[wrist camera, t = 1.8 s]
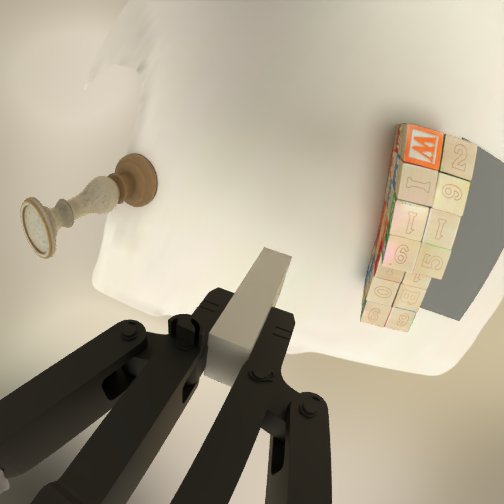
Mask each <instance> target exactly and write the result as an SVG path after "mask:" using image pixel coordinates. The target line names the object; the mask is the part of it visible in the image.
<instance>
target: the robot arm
mask: <svg viewBox="0 0 504 504" xmlns="http://www.w3.org/2000/svg"><path fill="white" fill-rule="evenodd" d="M291 258H292V257H291V256H288V255H286V254H283V253H280V252H277V251H274V250H271V249H268V248H265V247H264V248H263V250H262V252H261V253H260V255H259V256H258V258H257V259H256V261H255V263H254V264H253V266H252V267H251V269H250V270H249V272H248V273H247V275H246V277H245V278H244V280H243V281H242V283H241V284H240V286H239V287H238V289H237V291H236V292H235V293H232V292H230V291H227V290H224V289H222V288H219V287H218V288H216V289H214V290H212V291H210V292H209V293H208V294H207V296H206V297H205V298H204V300H203V301H202V302H201V303H200V305H199V307H197V309H196V310H195V311H194V313H193V314H192V315H189V314H178V315H175V316H173V317H171V318H170V319H169V320H168V331H169V334H167V335H164V334H156V333H150V332H146V330H145V327H144V326H143V325H142V324H141V323H139V322H138V321H135V320H123V321H121V322H119V323H117V324H115V325H114V326H112V327H111V328H109V329H108V330H106V331H105V332H103V333H102V334H100V335H98V336H97V337H95V338H94V339H93V340H91V341H89V342H88V343H86V344H84V345H83V346H81V347H80V348H78V349H77V350H75V351H74V352H72V353H71V354H69V355H68V356H66V357H65V358H63V359H61V360H60V361H58V362H57V363H55V364H54V365H53V366H51V367H49V368H48V369H46V370H45V371H43V372H42V373H40V374H39V375H38V376H36V377H34V378H33V379H31V380H30V381H28V382H27V383H25V384H24V385H22V386H21V387H19V388H18V389H16V390H15V391H13V392H12V393H10V394H9V395H8V396H6V397H4V398H3V399H1V400H0V493H2V492H3V491H5V490H8V489H9V482H8V480H7V479H6V478H10V477H15V476H18V475H20V474H23V473H24V472H26V471H28V470H30V469H31V468H33V467H34V466H36V465H37V464H38V463H39V462H41V461H43V460H44V459H45V458H47V457H48V456H50V455H51V454H52V453H54V452H55V451H56V450H58V449H59V448H61V447H62V446H63V445H65V444H66V443H67V442H69V441H70V440H71V439H72V438H74V437H75V436H76V435H78V434H79V433H81V432H82V431H83V430H85V429H86V428H87V427H88V426H90V425H91V424H92V423H94V422H95V421H96V420H97V419H99V418H100V417H102V416H103V415H104V414H105V413H107V412H108V411H109V410H111V411H110V412H109V413H108V415H107V416H106V417H105V419H104V420H103V421H102V422H101V424H100V425H99V426H98V428H97V429H96V430H95V432H94V433H93V434H92V436H91V437H90V438H89V440H88V441H87V443H86V444H85V445H84V446H83V448H82V449H81V451H80V452H79V453H78V455H77V456H76V457H75V459H74V460H73V461H72V463H71V464H70V465H69V467H68V468H67V469H66V471H65V472H64V474H63V475H62V476H61V477H60V479H58V480H57V481H55V482H52V483H49V484H47V485H46V486H44V487H43V488H42V489H41V490H40V491H39V493H38V494H37V496H36V497H35V498H34V500H33V501H32V503H31V504H126V503H127V501H128V500H129V498H130V496H131V495H132V493H133V492H134V490H135V489H136V487H137V485H138V484H139V482H140V480H141V479H142V477H143V476H144V474H145V473H146V471H147V469H148V468H149V466H150V464H151V463H152V461H153V460H154V458H155V456H156V455H157V453H158V451H159V450H160V448H161V446H162V445H163V443H164V442H165V440H166V438H167V437H168V435H169V433H170V432H171V430H172V428H173V427H174V425H175V423H176V421H177V420H178V418H179V417H180V415H181V413H182V412H183V410H184V408H185V407H186V405H187V403H188V402H189V400H190V398H191V397H192V395H193V393H194V391H195V390H196V388H197V386H198V383H199V378H200V376H201V374H202V373H203V371H204V375H205V376H207V377H209V378H211V379H214V380H216V381H218V382H221V383H223V384H226V385H228V386H231V387H232V388H231V390H230V392H229V394H228V396H227V398H226V400H225V402H224V404H223V406H222V408H221V411H220V412H219V414H218V416H217V418H216V420H215V422H214V424H213V426H212V428H211V430H210V432H209V433H208V435H207V437H206V439H205V441H204V443H203V445H202V447H201V449H200V451H199V453H198V454H197V456H196V458H195V460H194V462H193V464H192V465H191V467H190V469H189V471H188V473H187V475H186V476H185V478H184V480H183V482H182V484H181V485H180V487H179V489H178V491H177V492H176V494H175V496H174V498H173V499H172V501H171V503H170V504H228V503H229V501H230V498H231V496H232V494H233V492H234V489H235V487H236V485H237V483H238V481H239V478H240V476H241V473H242V472H243V469H244V467H245V464H246V462H247V460H248V457H249V455H250V453H251V450H252V448H253V445H254V443H255V440H256V438H257V435H258V433H259V430H260V428H262V429H264V430H265V431H267V432H268V433H269V434H270V449H269V462H268V475H267V486H266V499H265V504H332V477H331V451H330V450H331V449H330V431H329V415H328V407H327V404H326V402H325V401H324V400H323V398H322V397H320V396H319V395H317V394H315V393H311V392H302V393H298V392H297V391H295V390H294V389H292V388H291V387H290V386H289V385H287V384H286V383H285V381H284V380H283V378H282V375H281V366H282V363H283V360H284V357H285V354H286V351H287V348H288V345H289V342H290V339H291V336H292V332H293V329H294V326H295V320H294V315H293V314H292V313H289V312H286V311H283V310H280V309H278V308H275V305H276V302H277V300H278V298H279V295H280V292H281V289H282V286H283V283H284V280H285V276H286V273H287V270H288V267H289V264H290V261H291Z"/></svg>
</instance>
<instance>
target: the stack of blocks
mask: <svg viewBox="0 0 504 504" xmlns="http://www.w3.org/2000/svg"><path fill="white" fill-rule="evenodd" d="M476 154H477V145H476V144H473V143H470V142H468V141H465V140H462V139H459V138H457V137H454V136H451V135H448V134H443V133H441V132H438V131H434V130H431V129H428V128H424V127H420V126H417V125H413V124H406V123H404V124H400V125H397V127H396V135H395V142H394V149H393V152H392V159H391V165H390V171H389V177H388V182H387V187H386V193H385V202H384V208H383V212H382V217H381V223H380V227H379V232H378V236H377V240H376V242H375V244H374V248H373V252H372V256H371V259H370V264H369V268H368V271H367V275H366V279H365V286H364V292H363V298H362V311H361V317H360V322H364V323H368V324H372V325H376V326H380V327H386V328H390V329H394V330H399V331H403V332H408V331H409V329H410V326H411V324H412V322H413V320H414V318H415V315H416V312H418V310H419V307H420V305H421V303H422V300H423V298H424V296H425V293H426V290H427V288H428V286H429V284H430V281H431V278H436V279H439V280H441V279H442V277H443V274H444V271H445V269H446V266H447V263H448V260H449V257H450V255H451V252H452V251H451V249H452V246H453V243H454V240H455V237H456V234H457V230H458V227H459V223H460V219H461V217H462V215H463V212H464V208H465V205H466V200H467V196H468V192H469V187H470V181H471V179H472V175H473V170H474V165H475V160H476Z"/></svg>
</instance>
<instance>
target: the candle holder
mask: <svg viewBox="0 0 504 504" xmlns="http://www.w3.org/2000/svg"><path fill="white" fill-rule="evenodd" d="M156 189H157V178H156V174H155V171H154V168H153V167H152V165H151V164H150V162H149V161H148V160H147V159H146V158H144V157H143V156H141V155H138V154H130V155H127V156H125V157H123V158H122V159H121V160H120V161H119V162H118V164H117V166H116V169H115V173H112V174H110V175H109V176H108V177H106V176H99V177H96V178H94V179H93V180H92V181H91V182H90V183H89V184H88V185H87V186H86V187H85V189H84V190H83V191H82V192H81V193H80V194H79V195H77V196H75V197H73V198H72V199H70V200H68V201H66V200H64V199H60V200H59V201H58V202H57V204H56V206H55V207H54V208H48V207H45V206H42V204H41V203H40V202H39V201H38V200H37V199H36V198H34V197H30V198H27V199H26V200H25V201H24V202H23V203H22V206H21V222H22V226H23V230H24V233H25V236H26V238H27V240H28V242H29V244H30V246H31V247H32V248H33V250H34V251H35V252H36V253H37V254H38V255H39V256H40V257H42V258H50V257H52V256H53V255H54V253H55V250H56V238H55V237H56V236H57V232H58V230H59V229H60V227H67V228H68V227H71V226H72V225H73V223H74V220H75V219H77V218H79V217H81V216H84V215H86V214H105V213H108V212H110V211H112V210H113V209H114V208H115V207H116V205H117V204H121V203H123V202H124V201H125V202H126V203H128V204H129V205H131V206H134V207H141V206H144V205H146V204H148V203H149V202H150V201H151V200H152V199H153V197H154V195H155V193H156Z"/></svg>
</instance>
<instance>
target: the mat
mask: <svg viewBox="0 0 504 504" xmlns="http://www.w3.org/2000/svg"><path fill="white" fill-rule="evenodd" d="M462 140H465V141H468V140H466V139H464V138H462ZM468 142H470V141H468ZM470 143H471V142H470ZM503 248H504V163H503V162H501V161H500V160H498V159H497V158H495V157H494V156H492V155H491V154H489V153H488V152H486V151H484V150H483V149H481V148H480V147H478V146H477V154H476V160H475V165H474V170H473V175H472V179H471V181H470V187H469V192H468V196H467V200H466V205H465V208H464V212H463V215H462V217H461V219H460V223H459V227H458V230H457V234H456V237H455V240H454V243H453V246H452V249H451V251H452V252H451V255H450V257H449V260H448V263H447V266H446V269H445V271H444V274H443V277H442V279H441V280H439V279H436V278H431V281H430V284H429V286H428V288H427V290H426V293H425V296H424V298H423V300H422V303H421V305H420V308H423V309H426V310H429V311H432V312H435V313H438V314H441V315H443V316H446V317H449V318H452V319H455V320H458V321H460V319H461V318H462V316H463V315H464V313H465V312H466V311H467V309H468V308H469V306H470V305H471V303H472V302H473V300H474V299H475V297H476V296H477V294H478V292H479V291H480V289H481V288H482V286H483V284H484V283H485V281H486V279H487V278H488V276H489V274H490V272H491V271H492V269H493V267H494V265H495V263H496V262H497V260H498V258H499V256H500V254H501V252H502V250H503Z"/></svg>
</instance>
